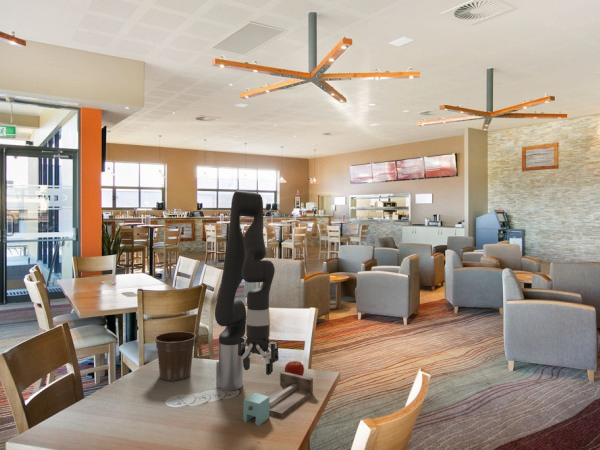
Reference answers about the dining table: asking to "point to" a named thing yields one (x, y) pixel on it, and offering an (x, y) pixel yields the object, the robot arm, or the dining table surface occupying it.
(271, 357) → the robot arm
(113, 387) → the dining table surface
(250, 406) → the cabinet block
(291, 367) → the apple
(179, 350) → the plant pot
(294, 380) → the cleat board
